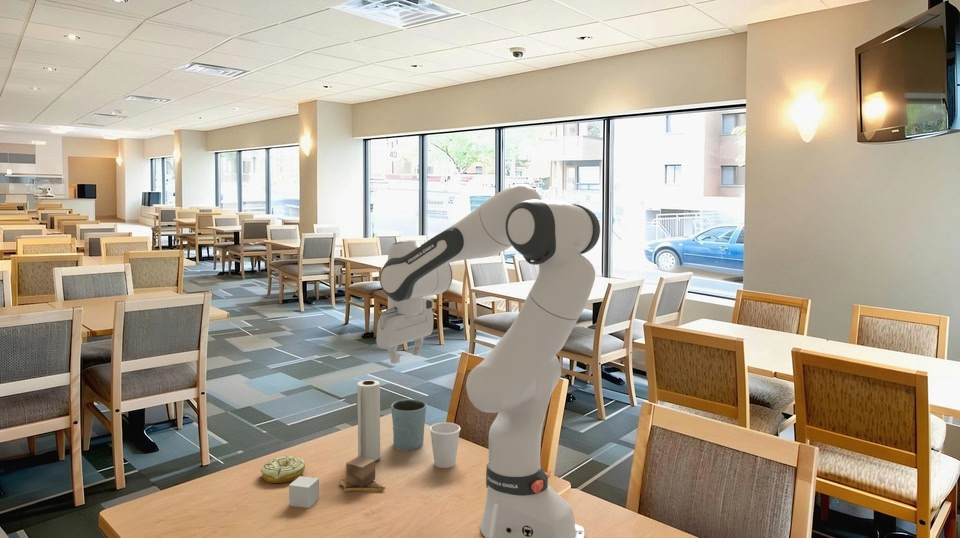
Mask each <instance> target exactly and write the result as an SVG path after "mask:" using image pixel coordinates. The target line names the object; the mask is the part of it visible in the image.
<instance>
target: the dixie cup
mask: <svg viewBox="0 0 960 538" xmlns="http://www.w3.org/2000/svg"><path fill="white" fill-rule="evenodd" d="M429 431H430V438H431V446H432V454H433V463H434V466H435V467H437V468H442V469H449V468H452V467H454V466H455V465H456V463H457V455H458V453H457V452H458V447H459V439H460V431H462V430H461V427H460V425H458V424H456V423H454V422H438V423H434V424H432V425H431V426H430V427H429Z"/></svg>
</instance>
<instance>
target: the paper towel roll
mask: <svg viewBox="0 0 960 538" xmlns="http://www.w3.org/2000/svg"><path fill="white" fill-rule="evenodd" d="M380 385H381V383H380V381H378V380H376V379H375V380H373V379H366V380H365V379H364V380H360V381H359V382H357V383H356V386H357V388H356V389H357V394H356V395H357V457H358V456H362V457H365V458H369V459H373V460H375V462H376V461H378V460H379V459H381V387H380Z"/></svg>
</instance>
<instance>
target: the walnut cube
mask: <svg viewBox="0 0 960 538" xmlns="http://www.w3.org/2000/svg"><path fill="white" fill-rule="evenodd" d="M345 471H346V473H345V475H346V476H345V478H346V482H347V483H350V484H353V485H357V486H360V487H363V486H365V485H367V484H368V483H370V482H372V481H375V480H376V461H375V460H373V459H369V458H365V457H362V456H358V455H357V457H355V458H353V459H351V460H349V461H347V462H346V463H345Z"/></svg>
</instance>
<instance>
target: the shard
mask: <svg viewBox="0 0 960 538" xmlns="http://www.w3.org/2000/svg"><path fill="white" fill-rule="evenodd" d="M338 483H339V484H340V485H342V486H343V492H355V491H356V492H373V493H374V492H384V491H385V490H386V487H384V486H383V485H381V484H379V483H378V482H376V481H375V480H373V481H372V482H370V483H368V484H367V485H365V486H363V487H360V486H357V485H353V484H350V483H347V482H346V477H345V478H341V479H339V480H338Z"/></svg>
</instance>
